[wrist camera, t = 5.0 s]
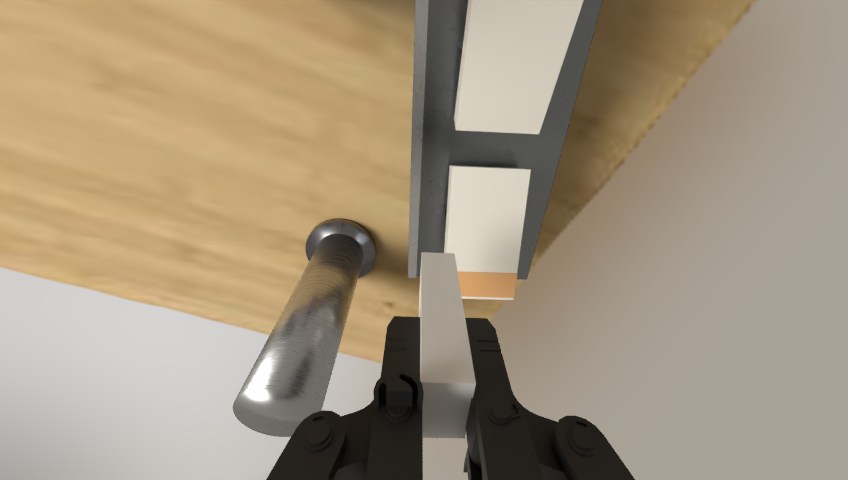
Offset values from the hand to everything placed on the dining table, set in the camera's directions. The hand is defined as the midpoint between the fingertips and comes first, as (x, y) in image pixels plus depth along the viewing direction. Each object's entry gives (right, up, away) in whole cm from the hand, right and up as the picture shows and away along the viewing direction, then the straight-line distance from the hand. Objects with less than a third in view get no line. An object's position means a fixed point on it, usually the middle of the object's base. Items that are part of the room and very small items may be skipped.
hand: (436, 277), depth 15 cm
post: (-8, +1, +13) cm, 15 cm away
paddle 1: (+4, +11, -1) cm, 11 cm away
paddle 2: (+3, +2, +4) cm, 6 cm away
